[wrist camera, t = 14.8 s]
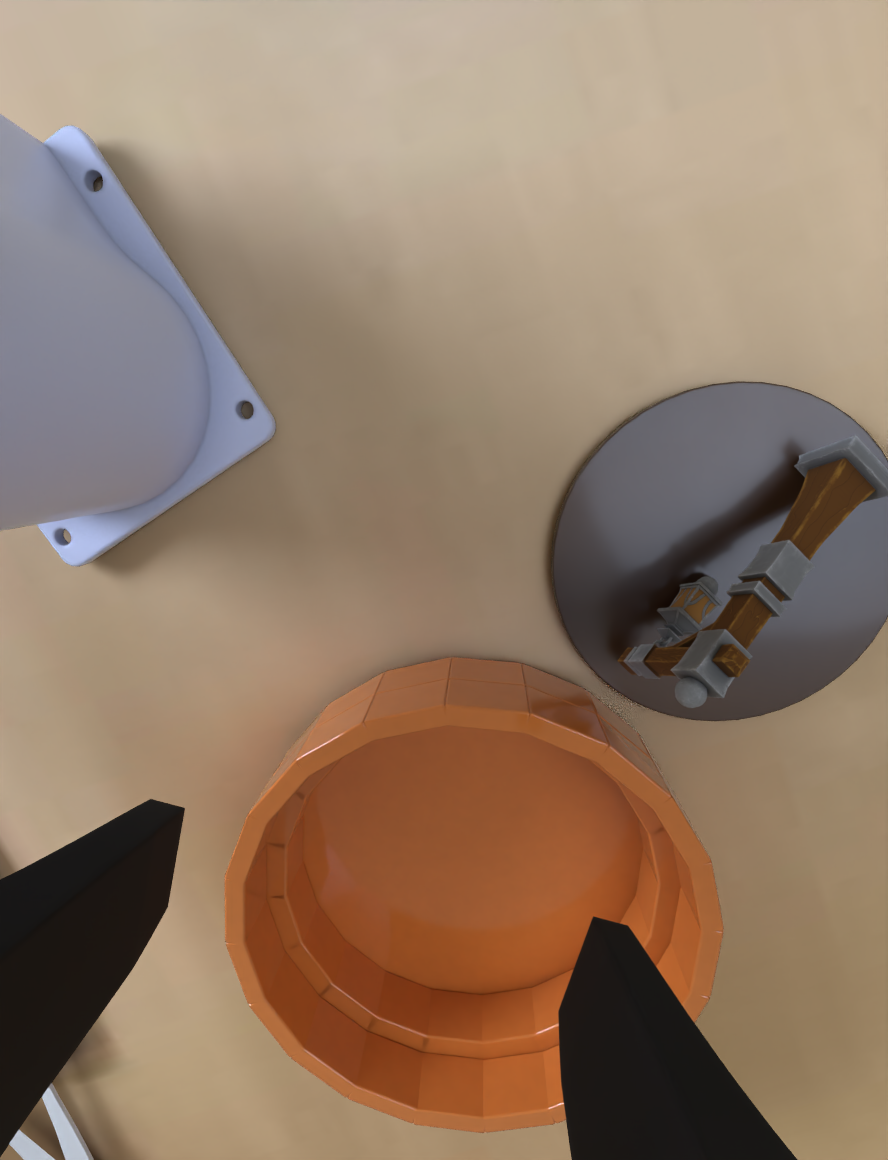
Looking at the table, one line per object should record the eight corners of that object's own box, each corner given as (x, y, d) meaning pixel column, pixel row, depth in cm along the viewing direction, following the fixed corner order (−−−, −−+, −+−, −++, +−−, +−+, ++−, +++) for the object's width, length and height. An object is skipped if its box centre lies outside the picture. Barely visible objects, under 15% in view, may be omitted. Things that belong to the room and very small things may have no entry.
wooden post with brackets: (584, 670, 18) (677, 681, 13) (736, 478, 19) (863, 431, 15) (627, 711, 18) (733, 735, 13) (774, 518, 19) (910, 483, 15)
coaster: (488, 504, 18) (489, 505, 18) (806, 309, 16) (814, 305, 16) (649, 768, 20) (652, 775, 19) (955, 615, 18) (966, 618, 17)
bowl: (194, 777, 21) (127, 855, 17) (543, 575, 18) (559, 609, 14) (409, 1063, 23) (394, 1191, 19) (747, 912, 20) (809, 1022, 17)
